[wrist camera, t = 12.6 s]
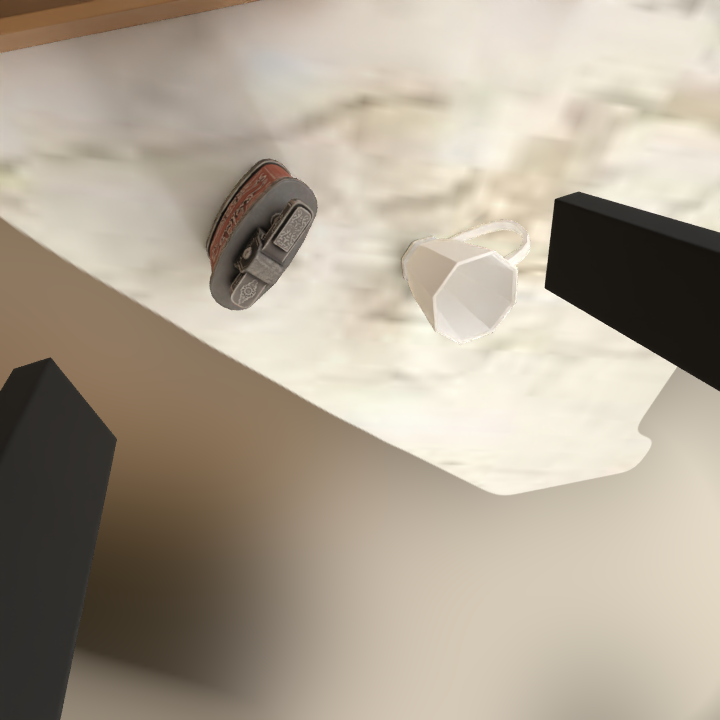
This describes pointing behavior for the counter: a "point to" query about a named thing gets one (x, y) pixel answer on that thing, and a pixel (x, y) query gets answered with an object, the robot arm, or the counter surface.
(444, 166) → the counter surface
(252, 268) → the lighter
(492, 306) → the cup
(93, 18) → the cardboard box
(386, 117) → the counter surface
